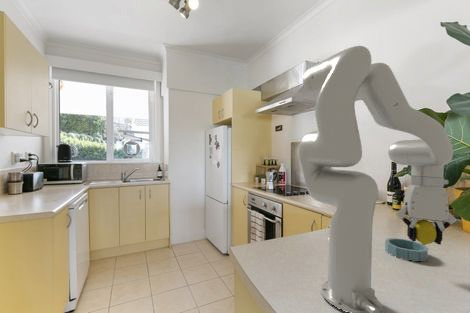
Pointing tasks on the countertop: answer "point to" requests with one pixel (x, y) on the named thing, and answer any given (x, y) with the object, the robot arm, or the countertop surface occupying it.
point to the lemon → (425, 232)
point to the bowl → (406, 249)
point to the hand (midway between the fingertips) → (424, 240)
